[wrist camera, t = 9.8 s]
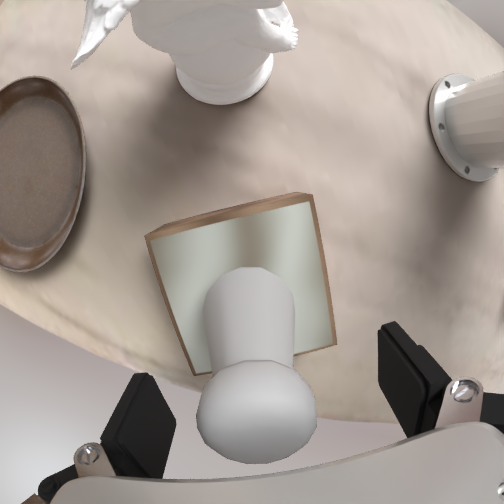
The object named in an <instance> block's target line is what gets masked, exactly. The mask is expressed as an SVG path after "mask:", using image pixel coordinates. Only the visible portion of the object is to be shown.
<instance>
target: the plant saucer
mask: <svg viewBox="0 0 504 504" xmlns="http://www.w3.org/2000/svg"><path fill="white" fill-rule="evenodd" d="M85 175H86V146H85V137H84V131H83V126H82V122H81V119H80V115H79V113H78V110H77V108H76V105H75V103H74V101H73V100H72V98H71V96H70V95H69V93H68V92H67V91H66V90H65V89H64V88H63V87H62V86H61V85H60V84H59V83H57V82H56V81H54V80H52V79H50V78H47V77H43V76H28V77H23V78H20V79H17V80H15V81H13V82H11V83H9V84H8V85H6V86H5V87H3V88H2V89H1V90H0V267H1V268H3V269H6V270H9V271H13V272H28V271H32V270H35V269H37V268H39V267H41V266H43V265H44V264H46V263H47V262H48V261H49V260H50V259H52V258H53V257H54V255H55V254H56V253H57V252H58V251H59V249H60V248H61V247H62V245H63V244H64V242H65V240H66V239H67V237H68V235H69V233H70V231H71V229H72V226H73V224H74V222H75V219H76V216H77V213H78V210H79V207H80V203H81V199H82V195H83V189H84V183H85Z"/></svg>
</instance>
